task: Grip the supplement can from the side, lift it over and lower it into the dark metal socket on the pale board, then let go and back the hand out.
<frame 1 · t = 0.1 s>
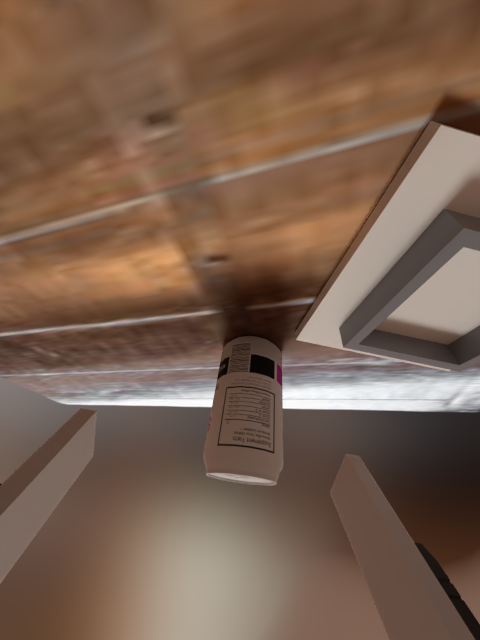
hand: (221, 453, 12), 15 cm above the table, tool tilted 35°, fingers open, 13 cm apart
socket board: (440, 290, 21), on the table
supplement can: (252, 349, 32), on the table
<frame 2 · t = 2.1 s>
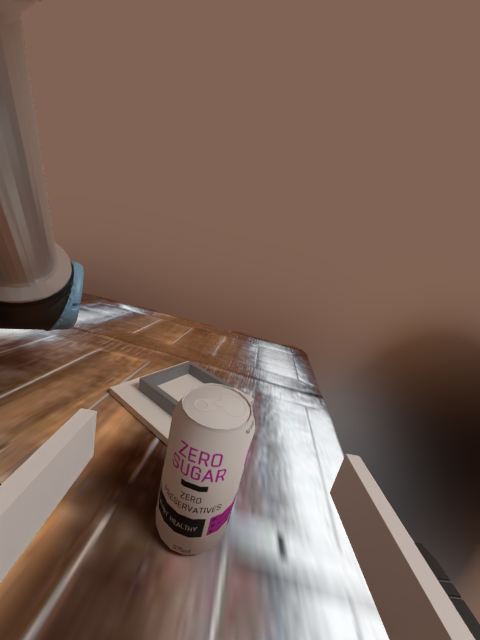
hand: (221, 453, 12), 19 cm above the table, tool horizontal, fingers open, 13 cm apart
socket board: (186, 398, 46), on the table
supplement can: (192, 515, 26), on the table
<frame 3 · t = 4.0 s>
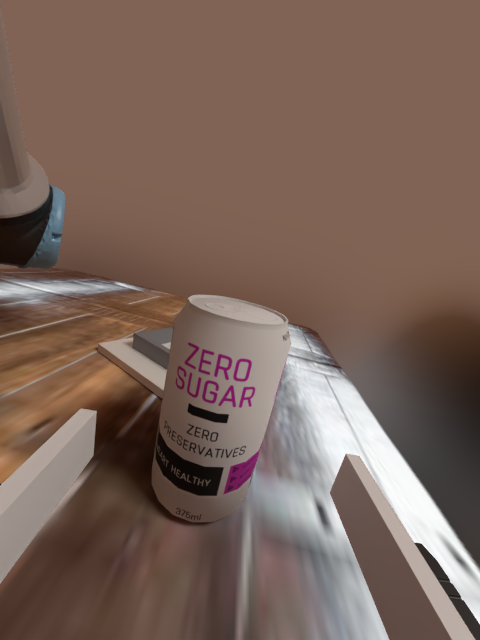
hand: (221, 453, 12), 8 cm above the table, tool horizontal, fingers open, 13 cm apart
socket board: (189, 360, 39), on the table
supplement can: (200, 477, 20), on the table
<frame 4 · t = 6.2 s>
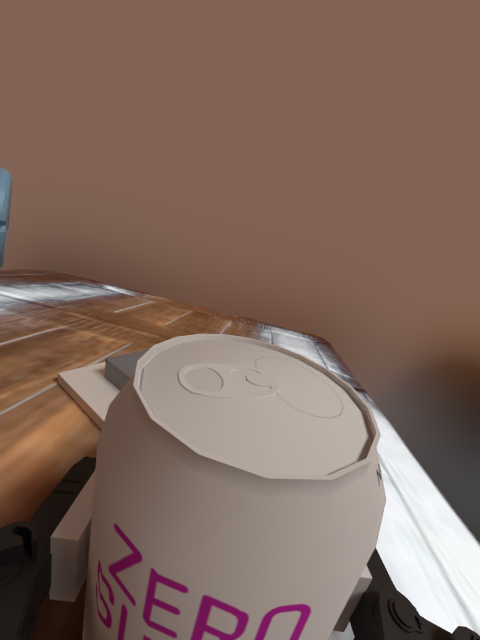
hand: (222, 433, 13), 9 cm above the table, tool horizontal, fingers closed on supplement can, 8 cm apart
socket board: (179, 391, 30), on the table
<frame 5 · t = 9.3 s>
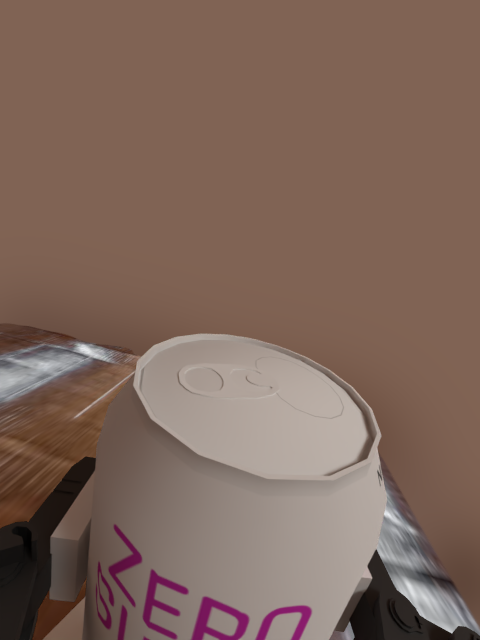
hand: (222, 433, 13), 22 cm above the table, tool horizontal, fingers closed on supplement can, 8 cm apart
when the fingers open (11 cm above the table, at t = 12.3 s): supplement can drops 1 cm, resting on socket board.
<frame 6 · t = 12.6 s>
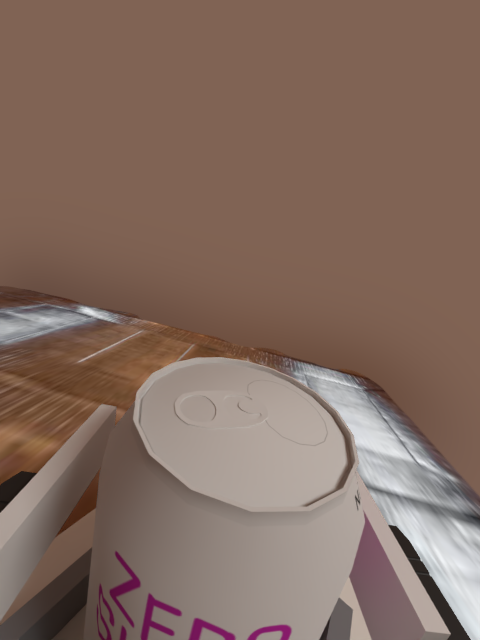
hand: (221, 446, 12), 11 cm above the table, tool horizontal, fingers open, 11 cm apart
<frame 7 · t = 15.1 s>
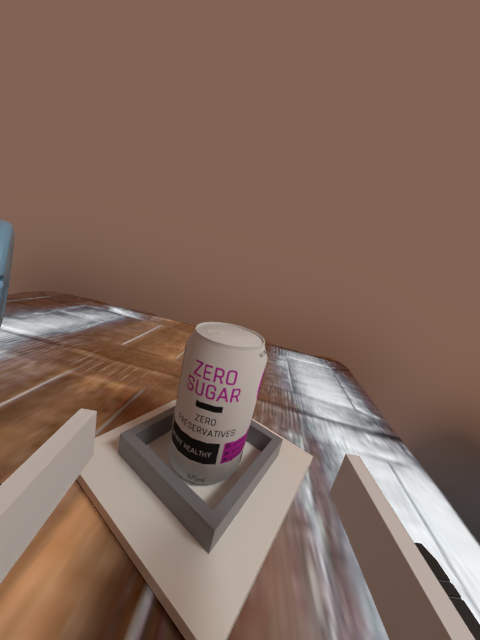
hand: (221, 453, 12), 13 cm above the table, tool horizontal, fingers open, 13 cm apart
socket board: (202, 463, 26), on the table
supplement can: (204, 456, 26), point 1 cm above the table, touching socket board
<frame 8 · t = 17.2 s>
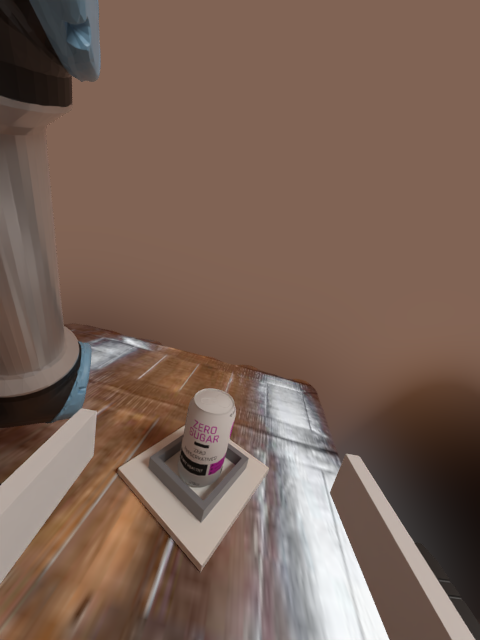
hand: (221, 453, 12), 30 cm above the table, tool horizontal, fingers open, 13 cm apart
socket board: (198, 473, 43), on the table
supplement can: (199, 469, 43), point 1 cm above the table, touching socket board
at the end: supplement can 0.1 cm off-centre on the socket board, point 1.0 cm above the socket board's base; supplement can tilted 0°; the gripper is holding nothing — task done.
